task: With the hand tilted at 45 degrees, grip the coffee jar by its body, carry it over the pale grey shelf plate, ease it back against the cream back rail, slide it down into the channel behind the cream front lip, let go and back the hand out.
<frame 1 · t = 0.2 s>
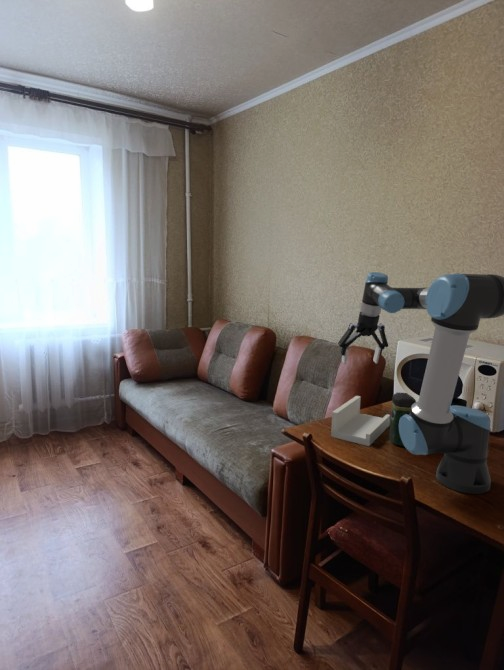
hand: (359, 362, 173), 27 cm above the table, tool tilted 15°, fingers open, 13 cm apart
coffee jar: (400, 442, 163), on the table
channel shelf: (361, 430, 174), on the table
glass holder: (459, 440, 167), on the table
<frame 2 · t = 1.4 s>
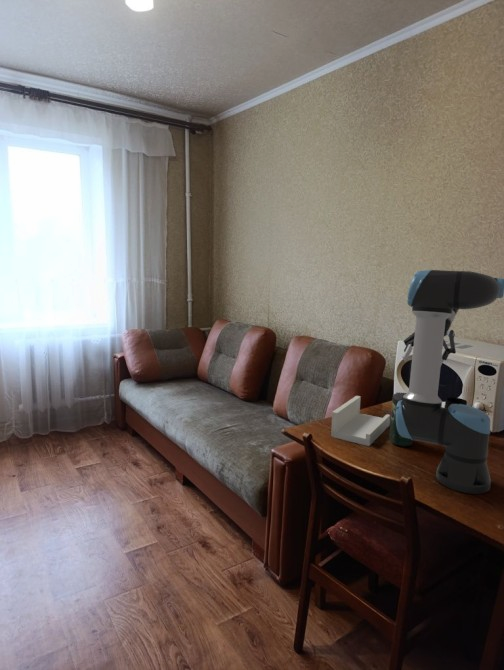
hand: (420, 362, 166), 29 cm above the table, tool tilted 45°, fingers open, 13 cm apart
nothing on the table moved.
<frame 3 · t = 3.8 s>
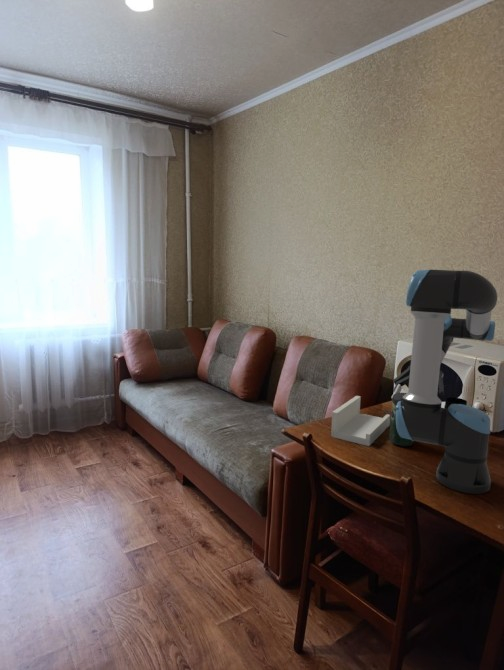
hand: (409, 403, 165), 14 cm above the table, tool tilted 45°, fingers open, 13 cm apart
nothing on the table moved.
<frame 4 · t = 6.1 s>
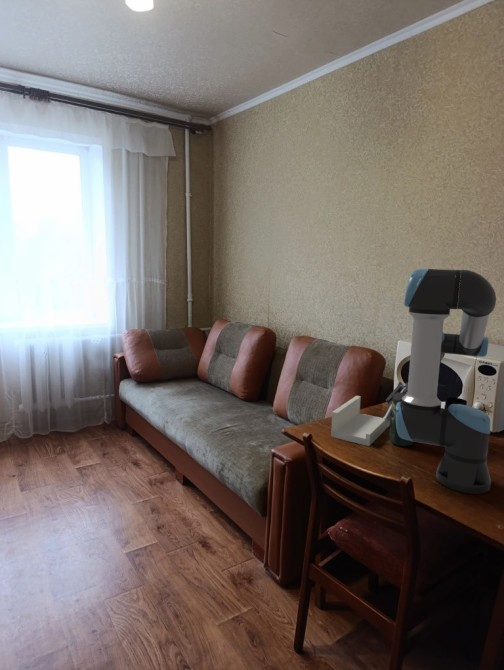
hand: (397, 424, 160), 8 cm above the table, tool tilted 45°, fingers closed on coffee jar, 9 cm apart
coffee jar: (400, 442, 163), on the table, touching gripper
everything else where it was.
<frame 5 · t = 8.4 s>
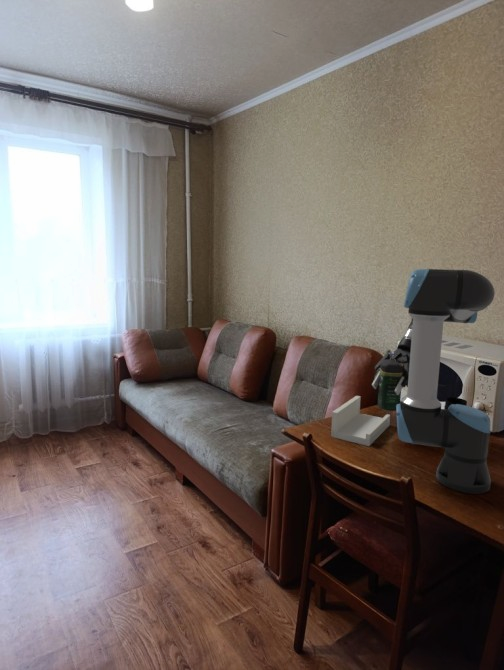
hand: (384, 389, 164), 19 cm above the table, tool tilted 45°, fingers closed on coffee jar, 9 cm apart
coffee jar: (388, 408, 167), point 11 cm above the table, touching gripper
everything else where it was.
when the fingers open (12 cm above the table, at t = 11.0 s): coffee jar drops 1 cm, resting on channel shelf.
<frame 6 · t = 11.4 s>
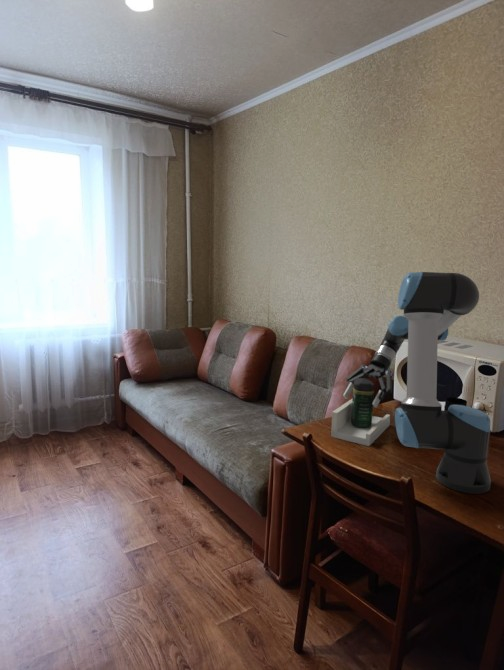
hand: (359, 401, 170), 13 cm above the table, tool tilted 45°, fingers open, 13 cm apart
coffee jar: (361, 425, 174), point 2 cm above the table, touching channel shelf
everything else where it was.
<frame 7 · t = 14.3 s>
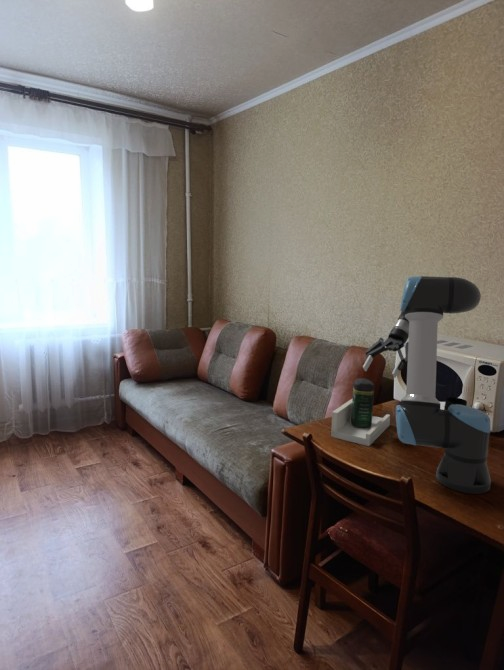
hand: (378, 372, 177), 22 cm above the table, tool tilted 45°, fingers open, 13 cm apart
nothing on the table moved.
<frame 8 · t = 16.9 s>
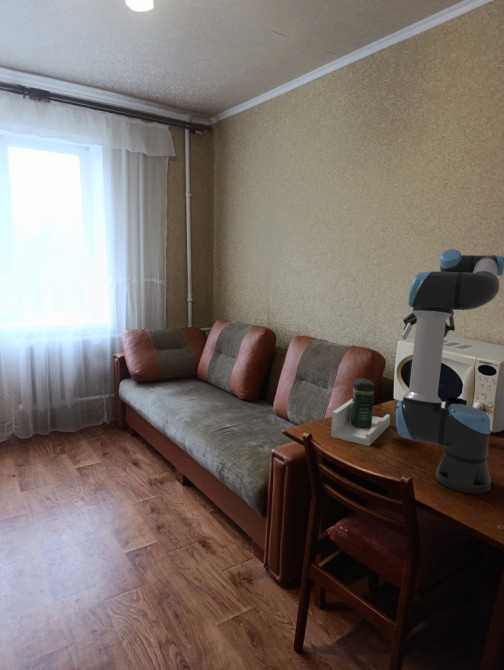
hand: (419, 340, 166), 38 cm above the table, tool tilted 45°, fingers open, 13 cm apart
nothing on the table moved.
at the end: coffee jar inside the target area (0.6 cm from its centre), point 2.3 cm above the table; coffee jar tilted 0°; the gripper is holding nothing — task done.
